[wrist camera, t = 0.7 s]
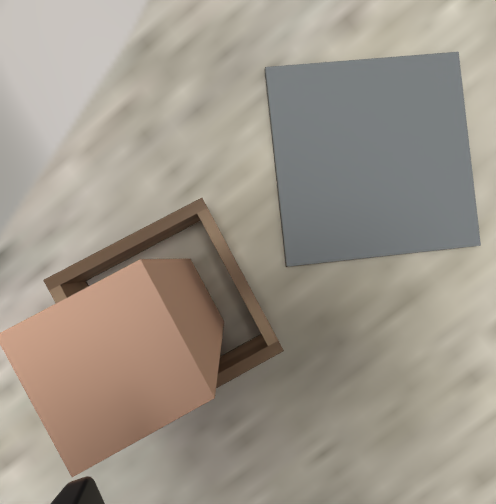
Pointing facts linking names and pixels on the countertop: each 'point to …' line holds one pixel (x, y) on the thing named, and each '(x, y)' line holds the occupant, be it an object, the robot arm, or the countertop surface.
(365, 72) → the rubber mat
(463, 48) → the countertop surface
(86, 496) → the robot arm
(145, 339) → the terracotta block
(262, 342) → the wooden frame
